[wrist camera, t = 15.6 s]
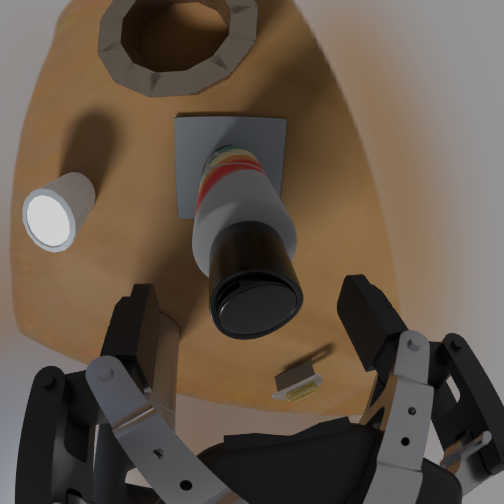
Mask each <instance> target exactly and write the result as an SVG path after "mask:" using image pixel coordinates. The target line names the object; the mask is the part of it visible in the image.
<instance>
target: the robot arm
mask: <svg viewBox="0 0 504 504" xmlns="http://www.w3.org/2000/svg"><path fill="white" fill-rule="evenodd" d="M337 312H338V315H339V318H340V320H341V321H342V323H343V325H344V327H345V329H346V331H347V333H348V336H349V338H350V340H351V342H352V344H353V346H354V348H355V350H356V352H357V354H358V356H359V358H360V360H361V362H362V364H363V367H364V369H365V371H366V372H368V371H372V370H376V371H377V375H376V376H375V379H374V383H373V386H372V390H371V393H370V397H369V400H368V403H367V406H366V409H365V412H364V414H363V416H362V418H361V419H360V421H359V423H358V424H357V423H350V421H349V418H348V416H346V417H343V418H339V419H334V420H331V421H326V422H321V423H319V424H317V425H314V426H312V427H310V428H308V429H306V430H304V431H302V432H299V433H297V434H295V435H291V436H283V435H270V434H261V433H251V434H240V435H225V436H224V442H223V443H219V444H216V445H214V446H212V447H209V448H208V449H206V450H204V451H202V452H201V453H200V454H198V455H197V456H195V455H194V454H193V452H192V451H191V450H190V449H189V448H188V447H187V446H186V445H185V444H184V443H183V442H182V440H181V439H180V438H179V437H178V436H177V435H176V434H175V425H176V422H175V421H176V419H175V417H176V416H175V415H176V414H175V413H176V385H177V365H178V351H179V336H180V332H179V329H178V327H177V325H176V324H175V322H174V321H173V320H171V319H170V318H169V317H167V316H166V315H164V314H161V313H160V311H159V307H158V302H157V298H156V293H155V288H154V285H153V284H134V286H133V289H132V293H131V296H130V297H122V298H121V299H120V301H119V302H118V303H117V304H116V305H115V308H114V311H113V314H112V317H111V320H110V325H109V327H108V330H107V333H106V336H105V340H104V343H103V347H102V350H101V354H100V357H98V358H96V359H94V360H93V361H92V362H91V363H90V364H89V365H88V367H87V369H86V370H84V371H80V372H74V373H69V374H64V373H63V372H62V370H61V369H60V368H58V367H55V366H47V367H45V368H42V369H41V370H40V371H39V372H38V373H37V374H36V376H35V378H34V381H33V384H32V388H31V392H30V395H29V399H28V404H27V408H26V412H25V417H24V422H23V427H22V432H21V438H20V445H19V452H18V460H17V470H16V483H15V504H462V497H463V496H464V495H466V494H467V493H469V492H470V491H472V490H473V489H474V488H476V487H477V486H478V485H480V484H481V483H482V482H483V481H485V480H487V479H489V478H491V477H493V476H494V475H496V474H498V473H500V472H501V471H503V470H504V406H503V404H502V402H501V400H500V398H499V396H498V395H497V392H496V391H495V389H494V387H493V385H492V383H491V381H490V380H489V378H488V376H487V375H486V373H485V371H484V369H483V368H482V366H481V364H480V363H479V361H478V359H477V358H476V356H475V355H474V353H473V351H472V350H471V349H470V347H469V345H468V344H467V342H466V341H465V340H464V338H462V337H461V336H460V335H458V334H454V333H449V334H447V335H446V336H445V338H444V339H443V340H442V342H431V341H428V340H427V339H426V337H425V336H424V335H422V334H421V333H419V332H417V331H413V330H409V329H408V328H407V326H406V325H405V323H404V322H403V321H402V319H401V318H400V316H399V315H398V313H397V312H396V310H395V309H394V308H392V305H391V303H390V302H389V301H388V299H387V298H386V296H385V295H384V293H383V292H382V291H381V290H380V289H378V288H377V287H376V286H374V285H371V284H370V283H369V281H368V280H367V278H366V277H365V276H364V275H363V274H359V275H347V276H346V277H345V279H344V282H343V285H342V289H341V292H340V295H339V298H338V302H337ZM450 376H452V378H453V380H454V382H455V384H456V386H457V388H458V389H459V391H460V399H459V401H458V402H456V400H455V398H454V396H453V394H452V392H451V390H450V388H449V386H448V384H447V382H446V380H447V379H448V378H449V377H450ZM430 419H431V420H432V423H433V425H434V427H435V430H436V432H437V435H438V438H439V440H440V443H441V445H442V448H443V451H444V457H443V459H442V460H441V462H440V466H439V465H437V464H435V463H433V462H431V461H429V460H428V459H426V458H424V457H423V456H424V451H425V447H426V442H427V436H428V431H429V425H430ZM98 424H100V425H99V432H98V439H97V447H96V454H95V464H94V471H93V461H94V441H95V428H96V425H98ZM133 468H137V469H138V470H139V472H140V473H141V474H142V476H143V477H144V478H145V479H146V481H147V482H148V483H149V484H150V485H151V487H152V488H148V487H143V486H138V485H133V484H128V483H125V478H126V474H127V472H128V471H129V470H131V469H133Z"/></svg>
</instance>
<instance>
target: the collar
mask: <svg viewBox="0 0 504 504" xmlns="http://www.w3.org/2000/svg"><path fill="white" fill-rule="evenodd" d="M189 2H199V3H201V4H203V5H206V6H208V7H210V8H212V9H215V10H217V11H218V13H219V14H220V16H221V17H222V19H223V20H224V22H225V23H226V25H227V27H228V33H227V38H226V39H225V41H224V42H223V43H222V45H221V46H220V47H219V49H218V50H217V51H216V53H215V54H214V56H213V57H211V58H209V59H207V60H205V61H203V62H201V63H199V64H197V65H195V66H194V67H192V68H190V69H188V70H186V71H173V72H161V73H158V72H156V71H154V70H152V69H150V68H149V66H148V65H147V63H146V62H145V60H144V58H143V57H142V55H141V54H140V40H141V32H142V31H143V29H144V28H145V26H146V25H147V23H148V22H149V21H150V19H151V18H152V16H153V15H154V14H156V13H158V12H160V11H161V10H163V9H165V8H167V7H169V6H171V5H173V4H176V3H189ZM257 14H258V7H257V4H256V2H255V1H254V0H113V2H112V3H111V5H110V6H109V7H108V9H107V10H106V12H105V13H104V15H103V16H102V18H101V19H102V20H100V29H99V40H98V53H99V54H98V55H99V57H100V59H101V60H102V62H103V64H104V65H105V67H106V69H107V70H108V72H109V73H110V75H111V77H112V78H113V80H114V81H115V82H116V83H118V84H120V85H122V86H125V87H127V88H129V89H132V90H134V91H136V92H138V93H141V94H143V95H145V96H147V97H167V96H182V95H197V94H200V93H202V92H204V91H205V90H207V89H209V88H211V87H213V86H215V85H217V84H219V83H221V82H223V81H225V80H227V79H228V78H229V77H230V76H231V74H232V73H233V71H234V70H235V68H236V67H237V66H238V64H239V63H240V62H241V60H242V59H243V58H244V56H245V55H246V53H247V52H248V51H249V50H250V48H251V47H252V46H253V44H254V43H255V41H256V29H257Z"/></svg>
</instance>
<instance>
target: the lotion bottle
mask: <svg viewBox="0 0 504 504" xmlns="http://www.w3.org/2000/svg"><path fill="white" fill-rule="evenodd" d="M296 245H297V236H296V230H295V227H294V224H293V222H292V220H291V218H290V216H289V214H288V212H287V210H286V208H285V207H284V205H283V203H282V201H281V199H280V198H279V196H278V194H277V192H276V191H275V189H274V187H273V186H272V184H271V182H270V180H269V179H268V177H267V175H266V174H265V172H264V170H263V169H262V167H261V165H260V164H259V162H258V160H257V159H256V157H255V156H254V155H253V154H252V153H251V152H250V151H249V150H248V149H246V148H244V147H242V146H239V145H224V146H221V147H219V148H217V149H215V150H214V151H213V152H212V153H211V154H210V155H209V156H208V157H207V159H206V161H205V163H204V166H203V170H202V176H201V182H200V188H199V194H198V200H197V207H196V214H195V220H194V228H193V238H192V249H193V254H194V258H195V261H196V263H197V265H198V267H199V268H200V269H201V271H202V272H203V273H204V274H205V275H206V276H207V277H208V278H209V310H210V315H211V318H212V321H213V323H214V324H215V326H216V327H217V328H218V330H219V331H221V332H222V333H223V334H225V335H226V336H228V337H231V338H234V339H241V340H248V339H255V338H259V337H262V336H265V335H268V334H270V333H272V332H274V331H276V330H278V329H279V328H281V327H282V326H284V325H285V324H286V323H288V322H289V321H290V320H291V319H292V318H293V317H294V316H295V315H296V314H297V313H298V311H299V310H300V308H301V306H302V304H303V292H302V289H301V286H300V284H299V281H298V279H297V276H296V273H295V271H294V268H293V266H292V263H291V261H292V259H293V257H294V254H295V251H296Z"/></svg>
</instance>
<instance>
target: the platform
mask: <svg viewBox="0 0 504 504" xmlns="http://www.w3.org/2000/svg"><path fill="white" fill-rule="evenodd" d="M275 380H276V385H277V390H278V392H276V393H274V394H272V397H273V398H274V399H287V401H289V400H291V402H292V403H293V402H295V401H298V400H292V399H293V398H296V399H299V400H300V399H302V398H305V397H298V395H299V396H300V395H302V396H306V397H307V396H309V395H311V394H304V393H307V392H314V393H316V391H317V392H318V388H317V387H318V386H320V385H321V384H322V376H321V375H320V374H315V373H314V370H313V366H312V363H311V360H308V361H307V362H305V363H303V364H301V365H299V366H297V367H295V368H293V369H290V370H288V371H286V372H284V373H282V374H280V375H278V376H276V377H275ZM304 386H306V387H304ZM299 388H302V389H299ZM311 389H312V390H311ZM313 389H315V390H313ZM294 391H296V392H294ZM291 392H292V393H291ZM312 394H313V393H312Z"/></svg>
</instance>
